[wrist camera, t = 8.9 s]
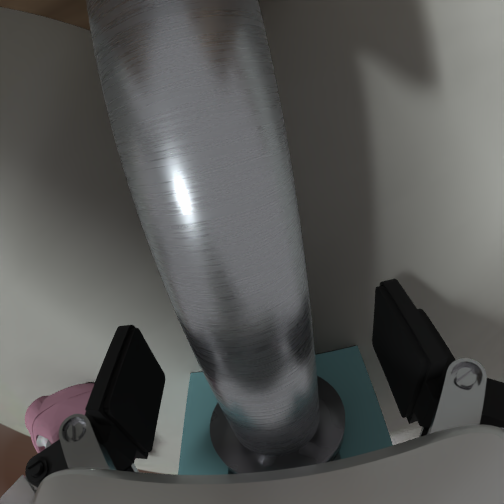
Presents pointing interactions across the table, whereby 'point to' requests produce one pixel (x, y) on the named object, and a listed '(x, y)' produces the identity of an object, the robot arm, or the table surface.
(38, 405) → the video game controller
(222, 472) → the socket block
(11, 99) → the table surface
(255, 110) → the rod
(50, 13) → the wooden cradle block
